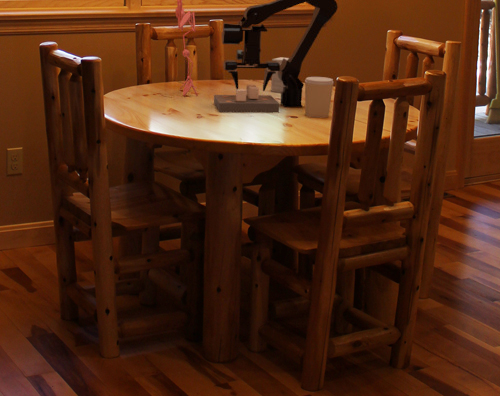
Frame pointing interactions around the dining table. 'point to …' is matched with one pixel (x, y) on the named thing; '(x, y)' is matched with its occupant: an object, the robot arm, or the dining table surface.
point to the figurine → (182, 21)
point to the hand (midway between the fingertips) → (250, 90)
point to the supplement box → (275, 81)
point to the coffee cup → (318, 96)
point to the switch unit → (246, 104)
